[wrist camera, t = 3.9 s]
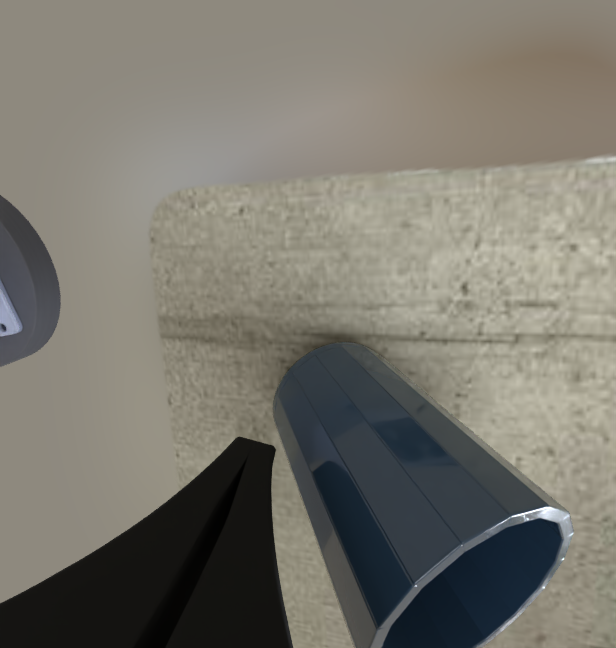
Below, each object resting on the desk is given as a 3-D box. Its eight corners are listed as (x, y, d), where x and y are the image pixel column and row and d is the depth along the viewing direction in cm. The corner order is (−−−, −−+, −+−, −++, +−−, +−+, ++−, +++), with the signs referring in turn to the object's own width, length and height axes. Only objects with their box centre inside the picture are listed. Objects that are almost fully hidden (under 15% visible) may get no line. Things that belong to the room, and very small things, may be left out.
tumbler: (287, 465, 16) (376, 719, 8) (257, 367, 13) (347, 609, 5) (390, 421, 17) (550, 601, 10) (382, 324, 15) (598, 466, 7)
